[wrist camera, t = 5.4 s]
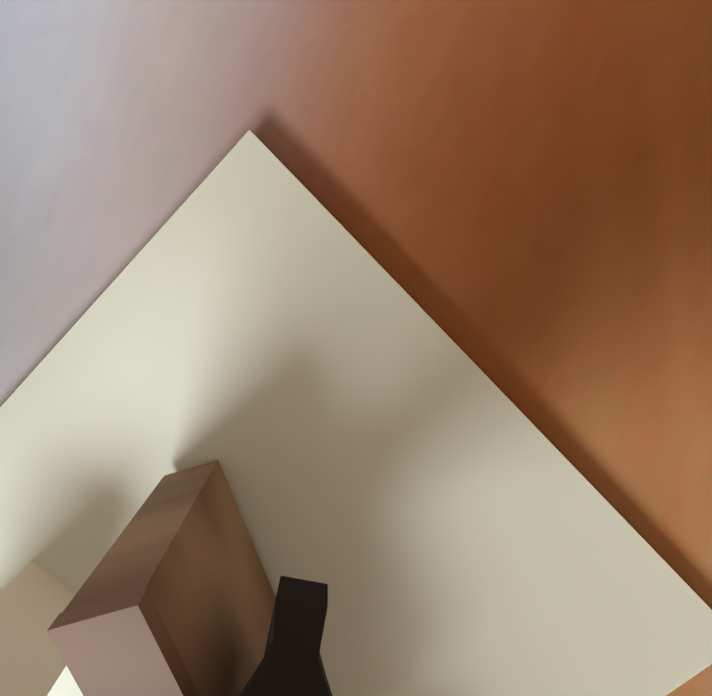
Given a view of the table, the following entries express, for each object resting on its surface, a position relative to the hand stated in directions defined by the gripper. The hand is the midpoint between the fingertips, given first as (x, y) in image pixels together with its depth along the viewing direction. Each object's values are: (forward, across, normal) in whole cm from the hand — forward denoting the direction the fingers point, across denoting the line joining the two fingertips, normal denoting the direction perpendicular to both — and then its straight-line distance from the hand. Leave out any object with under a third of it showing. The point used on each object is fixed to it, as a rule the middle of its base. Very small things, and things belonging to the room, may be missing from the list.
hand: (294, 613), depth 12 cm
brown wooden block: (+3, +1, +3) cm, 4 cm away
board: (+3, 0, +3) cm, 4 cm away
